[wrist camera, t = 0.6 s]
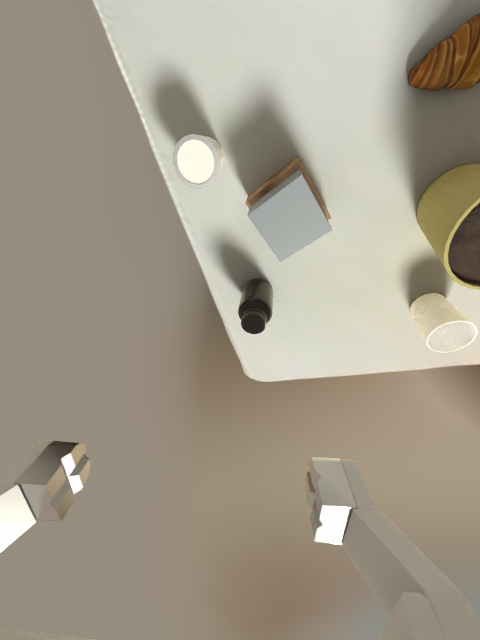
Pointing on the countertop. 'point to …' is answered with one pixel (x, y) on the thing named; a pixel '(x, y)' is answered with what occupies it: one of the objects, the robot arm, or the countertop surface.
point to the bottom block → (281, 177)
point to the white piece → (197, 160)
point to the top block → (289, 216)
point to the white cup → (442, 323)
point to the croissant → (451, 61)
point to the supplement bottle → (256, 306)
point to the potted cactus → (454, 222)
